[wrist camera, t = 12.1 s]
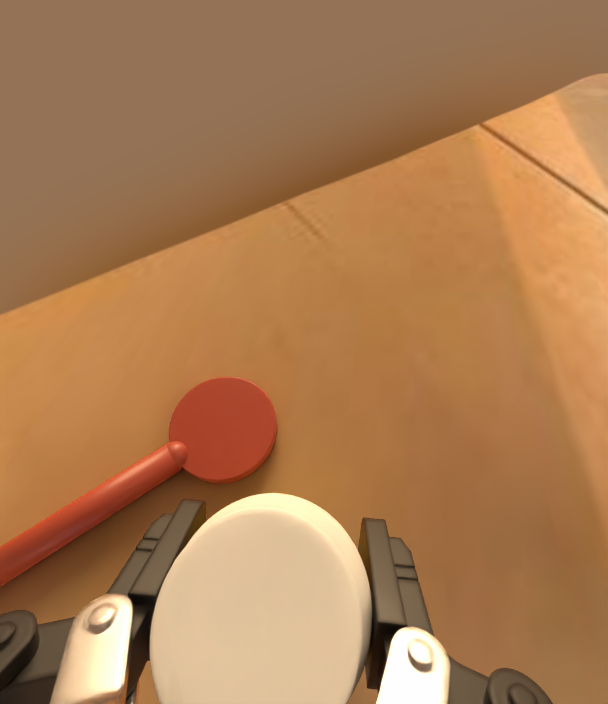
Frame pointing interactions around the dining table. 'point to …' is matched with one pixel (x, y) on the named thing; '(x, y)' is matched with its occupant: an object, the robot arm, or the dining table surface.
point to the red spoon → (165, 465)
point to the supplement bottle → (263, 609)
